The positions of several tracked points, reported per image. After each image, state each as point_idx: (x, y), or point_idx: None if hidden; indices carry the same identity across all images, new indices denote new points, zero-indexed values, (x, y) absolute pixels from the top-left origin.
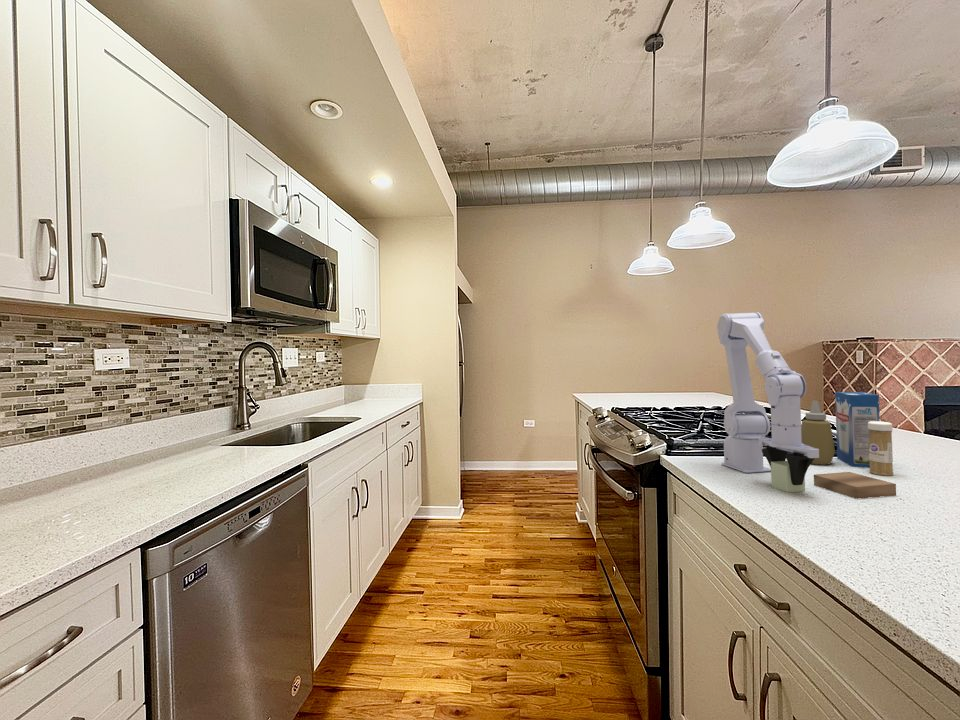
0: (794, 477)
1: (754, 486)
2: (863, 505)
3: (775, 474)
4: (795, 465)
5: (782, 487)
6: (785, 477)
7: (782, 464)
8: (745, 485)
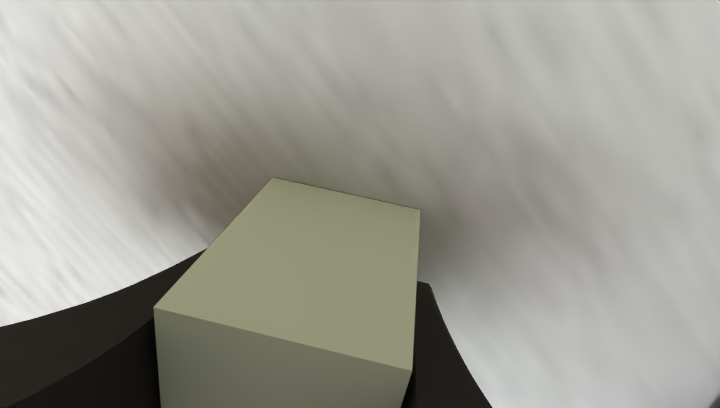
0: (178, 263)
1: (492, 87)
2: (10, 295)
3: (365, 263)
4: (20, 326)
5: (312, 196)
6: (244, 235)
7: (249, 353)
8: (561, 35)
